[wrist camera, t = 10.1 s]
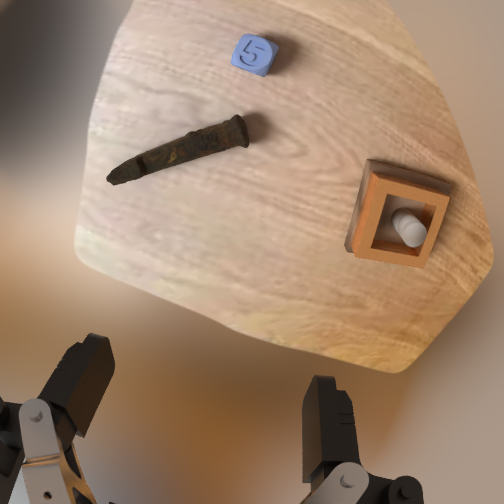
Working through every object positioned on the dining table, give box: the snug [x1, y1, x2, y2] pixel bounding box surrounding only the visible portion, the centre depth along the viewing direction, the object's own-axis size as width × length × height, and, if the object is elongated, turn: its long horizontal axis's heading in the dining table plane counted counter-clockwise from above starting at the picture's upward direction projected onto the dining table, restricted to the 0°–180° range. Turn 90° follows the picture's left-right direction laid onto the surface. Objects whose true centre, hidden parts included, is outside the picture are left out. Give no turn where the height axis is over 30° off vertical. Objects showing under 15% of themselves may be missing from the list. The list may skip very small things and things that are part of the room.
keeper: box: [344, 160, 452, 253], centre depth 35 cm, size 12×12×7 cm
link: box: [351, 171, 450, 269], centre depth 35 cm, size 10×10×3 cm
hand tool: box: [106, 115, 249, 185], centre depth 35 cm, size 19×4×5 cm, turn 104°
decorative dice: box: [231, 34, 279, 77], centre depth 29 cm, size 4×4×4 cm
